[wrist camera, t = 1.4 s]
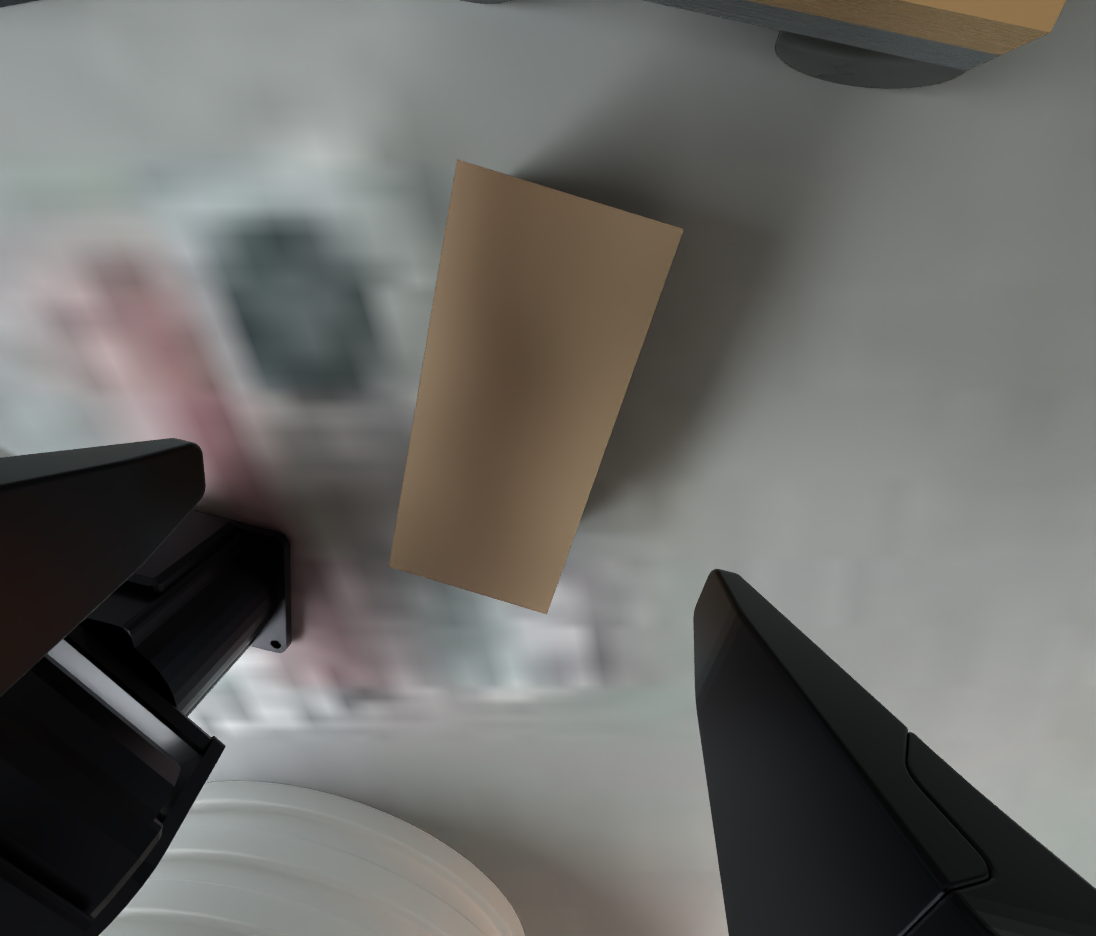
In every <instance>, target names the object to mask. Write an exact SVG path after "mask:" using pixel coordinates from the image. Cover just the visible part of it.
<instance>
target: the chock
mask: <svg viewBox="0 0 1096 936" xmlns="http://www.w3.org/2000/svg"><path fill="white" fill-rule="evenodd" d="M683 230H684V229H682V228H679V227H676V226H672V225H669V224H666V223H663V222H659V221H656V220H653V219H649V218H646V217H643V216H640V215H636V214H633V213H630V212H627V211H623V210H620V209H617V208H614V207H610V206H607V205H604V204H601V203H597V202H594V201H591V200H588V199H584V198H581V197H578V196H575V195H571V194H568V193H565V192H562V191H558V190H555V189H552V188H548V187H545V186H542V185H539V184H535V183H532V182H529V181H526V180H522V179H519V178H516V177H513V176H509V175H506V174H503V173H500V172H496V171H493V170H490V169H487V168H483V167H480V166H477V165H474V164H470V163H467V162H464V161H461V160H457V163H456V169H455V175H454V181H453V187H452V193H451V199H450V205H449V211H448V217H447V223H446V229H445V235H444V241H443V247H442V253H441V259H440V265H439V271H438V276H437V282H436V288H435V294H434V300H433V306H432V312H431V318H430V324H429V330H428V336H427V342H426V348H425V354H424V360H423V366H422V372H421V378H420V384H419V389H418V395H417V401H416V407H415V413H414V419H413V425H412V431H411V437H410V443H409V449H408V455H407V461H406V467H405V473H404V479H403V485H402V491H401V497H400V502H399V508H398V514H397V520H396V526H395V532H394V538H393V544H392V550H391V556H390V562H389V567H392V568H395V569H398V570H402V571H405V572H408V573H412V574H415V575H418V576H422V577H425V578H428V579H432V580H435V581H438V582H441V583H445V584H448V585H451V586H455V587H458V588H461V589H465V590H468V591H471V592H475V593H478V594H481V595H485V596H488V597H491V598H495V599H498V600H501V601H504V602H508V603H511V604H514V605H518V606H521V607H524V608H528V609H531V610H534V611H538V612H541V613H544V614H547V612H548V609H549V607H550V604H551V601H552V598H553V595H554V593H555V590H556V587H557V584H558V581H559V579H560V576H561V573H562V570H563V567H564V564H565V562H566V559H567V556H568V553H569V550H570V548H571V545H572V542H573V539H574V536H575V534H576V531H577V528H578V525H579V522H580V520H581V517H582V514H583V511H584V508H585V505H586V503H587V500H588V497H589V494H590V491H591V489H592V486H593V483H594V480H595V477H596V475H597V472H598V469H599V466H600V463H601V461H602V458H603V455H604V452H605V449H606V446H607V444H608V441H609V438H610V435H611V432H612V430H613V427H614V424H615V421H616V418H617V416H618V413H619V410H620V407H621V404H622V402H623V399H624V396H625V393H626V390H627V387H628V385H629V382H630V379H631V376H632V373H633V371H634V368H635V365H636V362H637V359H638V357H639V354H640V351H641V348H642V345H643V343H644V340H645V337H646V334H647V331H648V329H649V326H650V323H651V320H652V317H653V314H654V312H655V309H656V306H657V303H658V300H659V298H660V295H661V292H662V289H663V286H664V284H665V281H666V278H667V275H668V272H669V270H670V267H671V264H672V261H673V258H674V255H675V253H676V250H677V247H678V244H679V241H680V239H681V236H682V233H683Z"/></svg>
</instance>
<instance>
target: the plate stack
mask: <svg viewBox="0 0 1096 936" xmlns="http://www.w3.org/2000/svg"><path fill="white" fill-rule="evenodd" d="M99 936H525V934H524V930H523V928H522V925H521V923H520V920H519V918H518V916H517V915H516V913H515V911H514V909H513V908H512V906H511V905H510V903H509V902H508V900H507V899H506V898H505V896H504V895H503V894H502V893H501V891H500V890H499V889H498V888H497V887H496V886H495V885H494V884H493V882H492V881H491V880H490V879H489V878H488V877H487V876H485V875H484V874H483V873H482V872H481V871H480V870H479V869H478V868H477V867H476V866H474V865H473V864H472V863H471V862H469V861H468V860H467V859H466V858H464V857H463V856H462V855H460V854H459V853H458V852H456V851H455V850H453V849H452V848H450V847H449V846H447V845H446V844H444V843H443V842H441V841H440V840H438V839H436V838H435V837H433V836H431V835H430V834H428V833H426V832H424V831H423V830H421V829H419V828H417V827H415V826H413V825H411V824H409V823H407V822H405V821H403V820H401V819H399V818H397V817H394V816H392V815H390V814H388V813H385V812H383V811H380V810H378V809H375V808H373V807H370V806H367V805H365V804H362V803H359V802H356V801H353V800H350V799H347V798H344V797H340V796H337V795H333V794H329V793H326V792H322V791H317V790H313V789H308V788H303V787H298V786H292V785H286V784H279V783H270V782H258V781H220V782H210V783H205V784H204V786H203V787H202V789H201V791H200V793H199V794H198V796H197V798H196V800H195V801H194V803H193V805H192V807H191V808H190V810H189V812H188V814H187V816H186V817H185V819H184V821H183V823H182V824H181V826H180V828H179V830H178V831H177V833H176V835H175V837H174V838H173V840H172V842H171V844H170V846H169V847H168V849H167V851H166V853H165V854H164V856H163V857H162V859H161V861H160V862H159V864H158V865H157V867H156V868H155V870H154V871H153V873H152V874H151V875H150V877H149V878H148V879H147V881H146V882H145V884H144V885H143V886H142V888H141V889H140V890H139V891H138V892H137V894H136V895H135V896H134V897H133V899H132V900H131V901H130V902H129V904H128V905H127V906H126V907H125V908H124V909H123V910H122V911H121V913H120V914H119V915H118V916H117V917H116V918H115V919H114V920H113V921H112V922H111V924H110V925H109V926H108V927H107V928H106V929H105V930H104V931H103V932H102V933H101V934H100V935H99Z"/></svg>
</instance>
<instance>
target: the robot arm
mask: <svg viewBox="0 0 1096 936" xmlns="http://www.w3.org/2000/svg"><path fill="white" fill-rule="evenodd" d="M205 487H206V485H205V474H204V463H203V453H202V450H201V448H200V447H199V446H198V445H197V444H195V443H193V442H188V441H184V440H180V439H175V438H169V439H160V440H151V441H143V442H134V443H125V444H116V445H108V446H99V447H90V448H81V449H73V450H64V451H55V452H46V453H38V454H29V455H20V456H12V457H3V458H0V936H99V935H100V934H101V933H102V932H103V931H104V930H105V929H106V928H107V927H108V926H109V925H110V924H111V922H112V921H113V920H114V919H115V918H116V917H117V916H118V915H119V914H120V913H121V911H122V910H123V909H124V908H125V907H126V906H127V905H128V904H129V902H130V901H131V900H132V899H133V897H134V896H135V895H136V894H137V892H138V891H139V890H140V889H141V888H142V886H143V885H144V884H145V882H146V881H147V879H148V878H149V877H150V875H151V874H152V873H153V871H154V870H155V868H156V867H157V865H158V864H159V862H160V861H161V859H162V857H163V856H164V854H165V853H166V851H167V849H168V847H169V846H170V844H171V842H172V840H173V838H174V837H175V835H176V833H177V831H178V830H179V828H180V826H181V824H182V823H183V821H184V819H185V817H186V816H187V814H188V812H189V810H190V808H191V807H192V805H193V803H194V801H195V800H196V798H197V796H198V794H199V793H200V791H201V789H202V787H203V786H204V784H205V782H206V780H207V779H208V777H209V775H210V773H211V771H212V770H213V768H214V766H215V764H216V763H217V761H218V759H219V757H220V756H221V754H222V752H223V750H224V749H225V745H224V744H223V743H222V742H221V741H220V740H218V739H217V738H216V737H215V736H213V737H210V736H209V735H208V734H207V733H205V732H204V731H203V730H202V729H201V728H200V727H199V726H197V725H196V724H195V723H194V722H193V721H192V720H190V719H189V718H188V717H187V716H188V715H189V714H190V713H191V712H192V711H193V710H194V709H195V707H196V706H197V705H198V704H199V703H200V702H201V701H202V700H203V698H204V697H205V696H206V695H207V694H208V693H209V692H210V690H211V689H212V688H213V687H214V686H215V685H216V684H217V683H218V681H219V680H220V679H221V678H222V677H223V676H224V675H225V673H226V672H227V671H228V670H229V669H230V668H231V667H232V666H233V664H234V663H235V662H236V661H237V660H238V659H239V658H240V657H241V655H242V654H243V653H244V652H245V651H246V650H247V649H248V647H249V646H252V647H256V648H260V649H264V650H268V651H272V652H277V653H281V652H284V651H285V650H286V649H287V648H288V646H289V645H290V644H291V597H290V544H289V540H288V538H287V537H286V536H285V535H284V534H283V533H281V532H278V531H275V530H271V529H267V528H263V527H258V526H254V525H250V524H246V523H242V522H238V521H234V520H230V519H226V518H222V517H218V516H214V515H210V514H206V513H202V512H197V511H193V510H192V509H193V508H194V507H195V506H196V505H197V504H198V502H199V501H200V500H201V499H202V497H203V495H204V492H205ZM273 542H275V543H276V544H277V545H278V546H277V545H275V544H274V543H273ZM693 623H694V665H695V697H696V708H697V716H698V723H699V730H700V737H701V744H702V751H703V758H704V765H705V772H706V779H707V786H708V793H709V800H710V807H711V814H712V821H713V828H714V835H715V842H716V849H717V856H718V863H719V870H720V876H721V883H722V890H723V897H724V904H725V911H726V918H727V925H728V932H729V936H1096V888H1094V887H1093V886H1092V885H1091V884H1089V883H1088V882H1087V881H1086V880H1085V879H1083V878H1082V877H1081V876H1080V875H1079V874H1077V873H1076V872H1075V871H1074V870H1072V869H1071V868H1070V867H1069V866H1068V865H1066V864H1065V863H1064V862H1063V861H1062V860H1060V859H1059V858H1058V857H1057V856H1056V855H1054V854H1053V853H1052V852H1051V851H1049V850H1048V849H1047V848H1046V847H1045V846H1043V845H1042V844H1041V843H1040V842H1039V841H1037V840H1036V839H1035V838H1034V837H1032V836H1031V835H1030V834H1029V833H1028V832H1026V831H1025V830H1024V829H1023V828H1022V827H1021V826H1019V825H1018V824H1017V823H1016V822H1015V821H1013V820H1012V819H1011V818H1010V817H1009V816H1007V815H1006V814H1005V813H1004V812H1003V811H1001V810H1000V809H999V808H998V807H997V806H996V805H994V804H993V803H992V802H991V801H990V800H988V799H987V798H986V797H985V796H984V795H982V794H981V793H980V792H979V791H978V790H977V789H975V788H974V787H973V786H972V785H971V784H970V783H969V782H967V781H966V780H965V779H964V778H963V777H962V776H961V775H960V774H958V773H957V772H956V771H955V770H954V769H953V768H952V767H951V766H949V765H948V764H947V763H946V762H945V761H944V760H943V759H941V758H940V757H939V756H938V755H937V754H936V753H935V752H934V751H933V750H931V749H930V748H929V747H928V746H927V745H926V744H925V743H924V742H923V741H922V740H921V739H919V738H918V737H917V736H916V735H915V734H914V733H912V732H909V733H908V729H907V727H906V726H905V725H904V724H903V723H902V722H901V721H899V720H898V719H897V718H896V717H895V716H894V715H893V714H892V713H891V712H889V711H888V710H887V709H886V708H885V707H884V706H883V705H882V704H881V703H880V702H878V701H877V700H876V699H875V698H874V697H873V696H872V695H871V694H870V693H869V692H867V691H866V690H865V689H864V688H863V687H862V686H861V685H860V684H859V683H858V682H856V681H855V680H854V679H853V678H852V677H851V676H850V675H849V674H848V673H846V672H845V671H844V670H843V669H842V668H841V667H840V666H839V665H838V664H837V663H835V662H834V661H833V660H832V659H831V658H830V657H829V656H828V655H827V654H826V653H824V652H823V651H822V650H821V649H820V648H819V647H818V646H817V645H816V644H815V643H813V642H812V641H811V640H810V639H809V638H808V637H807V636H806V635H805V634H803V633H802V632H801V631H800V630H799V629H798V628H797V627H796V626H795V625H794V624H792V623H791V622H790V621H789V620H788V619H787V618H786V617H785V616H784V615H783V614H781V613H780V612H779V611H778V610H777V609H776V608H775V607H774V606H773V605H772V604H770V603H769V602H768V601H767V600H766V599H765V598H764V597H763V596H762V595H761V594H759V593H758V592H757V591H756V590H755V589H754V588H753V587H752V586H751V585H750V584H748V583H747V582H746V581H745V580H744V579H743V578H742V577H741V576H740V575H738V574H736V573H733V572H728V571H724V570H720V569H714V570H713V571H711V573H710V574H709V576H708V578H707V580H706V583H705V585H704V588H703V590H702V592H701V595H700V597H699V599H698V602H697V604H696V607H695V611H694V618H693Z"/></svg>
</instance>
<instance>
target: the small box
mask: <svg viewBox="0 0 1096 936" xmlns="http://www.w3.org/2000/svg"><path fill="white" fill-rule="evenodd" d="M31 1H37V0H0V7H4V6H8V5H14V4H20V3H25V2H31Z"/></svg>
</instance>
